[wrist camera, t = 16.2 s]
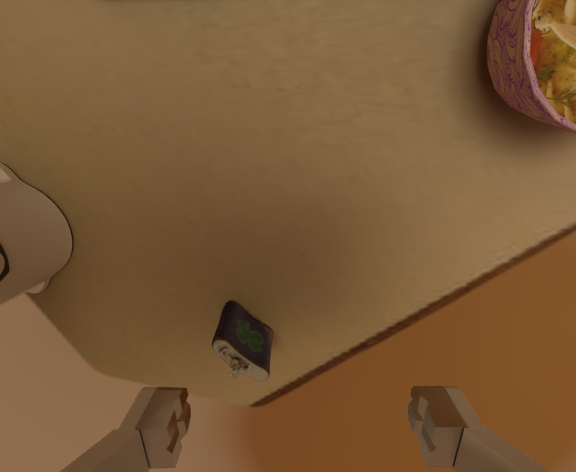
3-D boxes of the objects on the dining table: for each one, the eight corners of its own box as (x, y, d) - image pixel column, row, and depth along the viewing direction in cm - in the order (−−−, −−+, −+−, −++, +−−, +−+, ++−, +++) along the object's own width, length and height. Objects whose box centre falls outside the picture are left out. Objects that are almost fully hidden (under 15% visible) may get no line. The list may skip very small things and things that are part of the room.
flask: (276, 331, 47) (272, 386, 37) (263, 342, 48) (256, 399, 38) (231, 296, 45) (214, 345, 35) (219, 308, 46) (199, 359, 36)
